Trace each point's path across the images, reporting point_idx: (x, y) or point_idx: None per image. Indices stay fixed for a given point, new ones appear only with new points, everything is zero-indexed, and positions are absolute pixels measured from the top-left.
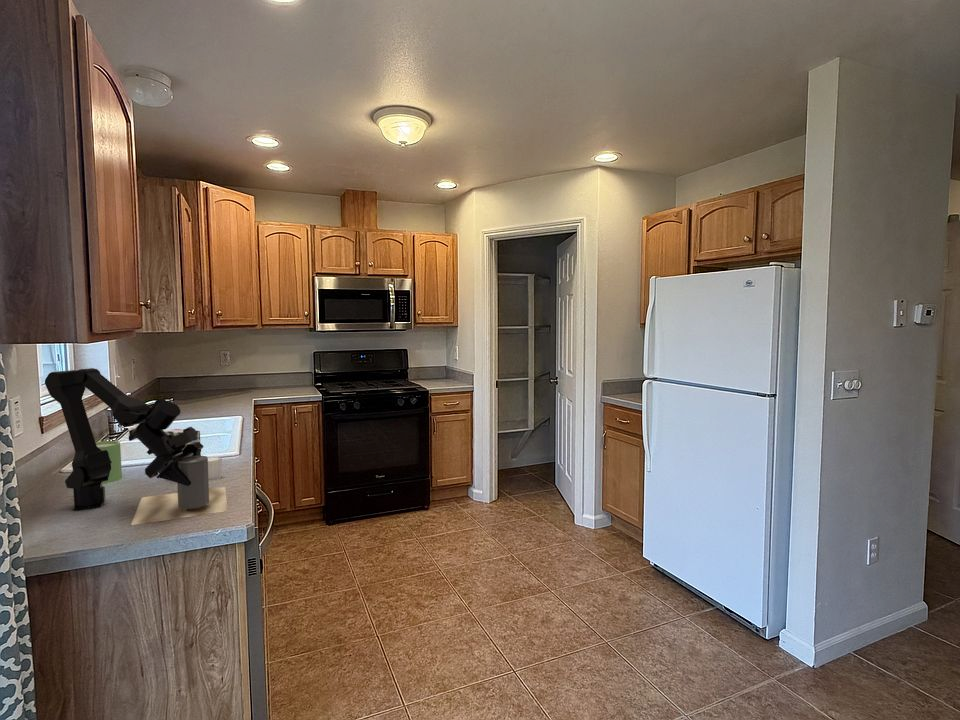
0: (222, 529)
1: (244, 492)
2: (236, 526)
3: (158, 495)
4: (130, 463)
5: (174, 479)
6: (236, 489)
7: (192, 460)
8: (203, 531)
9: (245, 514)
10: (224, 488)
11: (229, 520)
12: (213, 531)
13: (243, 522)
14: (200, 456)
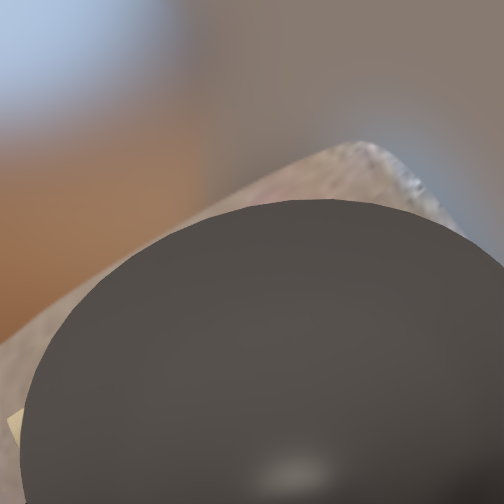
0: (410, 178)
1: (32, 328)
2: (376, 152)
3: None
4: None
5: None
6: (8, 377)
7: (455, 421)
8: (443, 224)
9: (271, 179)
10: (20, 414)
11: (340, 198)
12: (431, 195)
13: (342, 149)
14: (67, 474)
